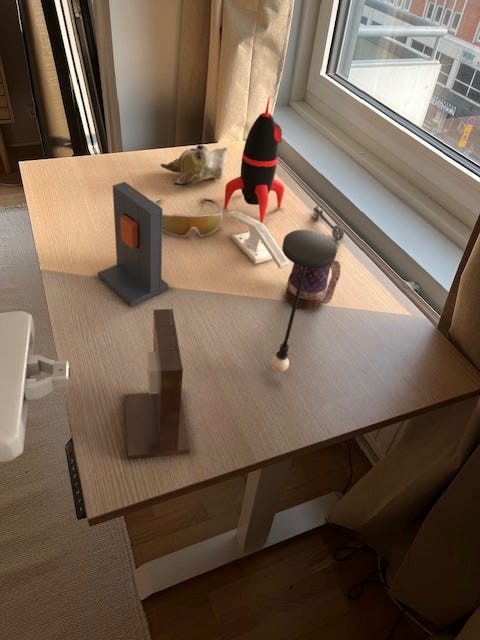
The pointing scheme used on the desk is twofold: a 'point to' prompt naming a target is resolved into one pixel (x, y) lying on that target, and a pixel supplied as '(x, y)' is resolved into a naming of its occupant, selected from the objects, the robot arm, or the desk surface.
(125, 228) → the switch far
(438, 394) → the desk surface
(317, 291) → the mug
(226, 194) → the toy rocket
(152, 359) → the switch near
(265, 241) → the t-shaped cleat
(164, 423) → the panel near
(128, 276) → the panel far
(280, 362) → the light fixture
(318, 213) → the key
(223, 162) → the ceramic sculpture
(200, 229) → the sunglasses
